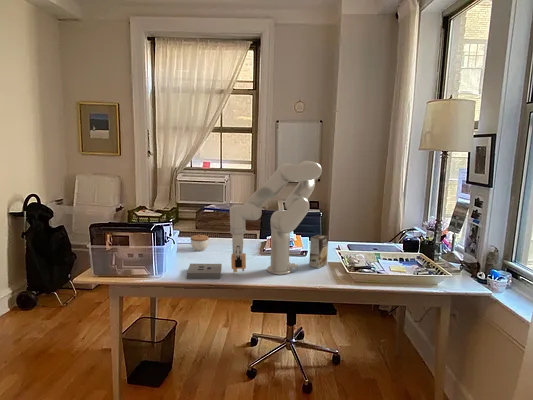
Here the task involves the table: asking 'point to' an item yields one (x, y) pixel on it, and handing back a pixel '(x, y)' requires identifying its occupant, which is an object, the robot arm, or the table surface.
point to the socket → (204, 271)
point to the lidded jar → (199, 242)
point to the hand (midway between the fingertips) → (238, 264)
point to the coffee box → (318, 251)
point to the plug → (243, 257)
